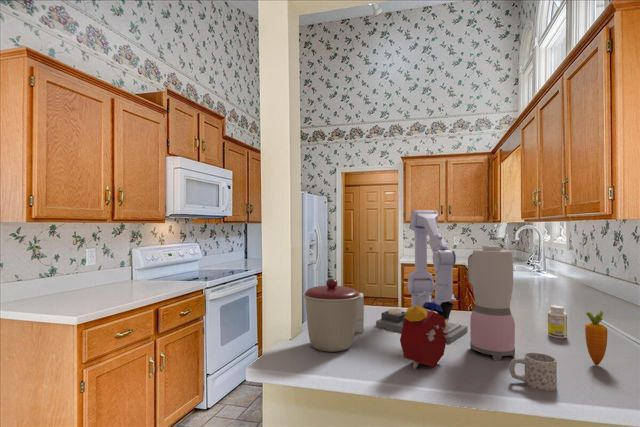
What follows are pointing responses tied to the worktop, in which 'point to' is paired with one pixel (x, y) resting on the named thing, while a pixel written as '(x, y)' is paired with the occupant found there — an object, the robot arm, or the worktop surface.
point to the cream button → (395, 311)
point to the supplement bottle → (557, 322)
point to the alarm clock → (424, 333)
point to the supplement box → (360, 315)
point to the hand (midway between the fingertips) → (443, 323)
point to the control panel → (398, 320)
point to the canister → (331, 316)
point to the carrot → (596, 337)
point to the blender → (492, 301)
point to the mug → (537, 371)
